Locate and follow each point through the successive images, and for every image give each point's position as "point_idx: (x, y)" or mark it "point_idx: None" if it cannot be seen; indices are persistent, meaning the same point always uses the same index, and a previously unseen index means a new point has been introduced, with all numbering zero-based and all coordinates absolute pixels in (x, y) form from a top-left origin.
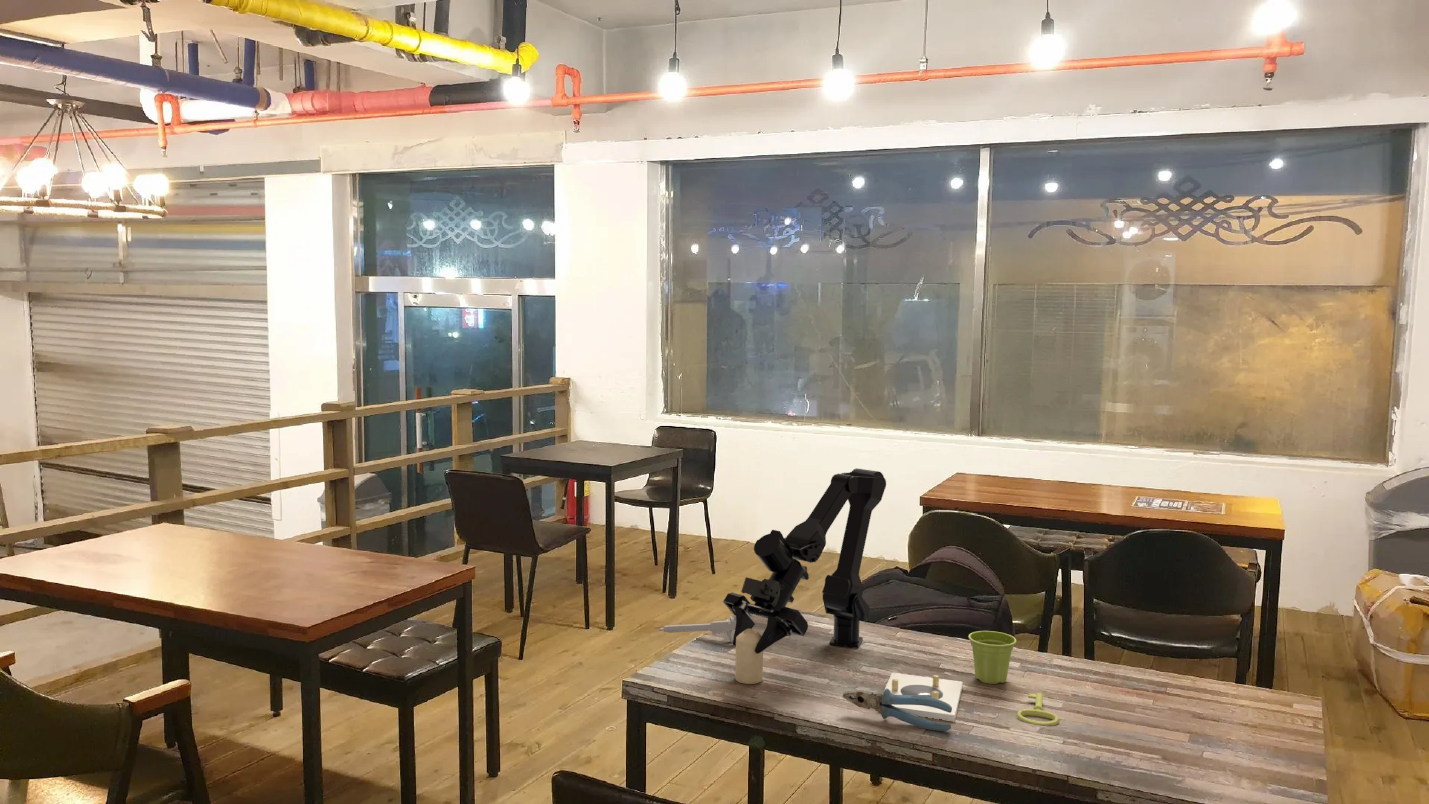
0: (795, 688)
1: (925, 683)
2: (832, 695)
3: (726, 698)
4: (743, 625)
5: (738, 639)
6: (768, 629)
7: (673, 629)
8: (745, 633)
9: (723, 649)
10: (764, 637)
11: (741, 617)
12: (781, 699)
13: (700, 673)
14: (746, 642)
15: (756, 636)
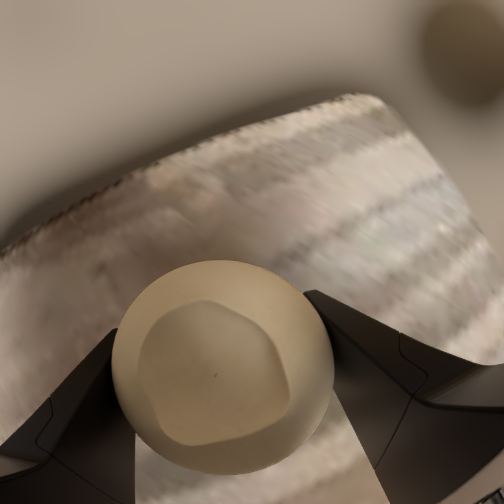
0: None
1: None
2: None
3: (143, 194)
4: (383, 408)
5: (229, 262)
6: (26, 440)
7: None
8: (261, 356)
9: None
10: (57, 389)
11: (442, 398)
12: (45, 327)
13: (371, 245)
14: (151, 283)
15: (125, 374)
